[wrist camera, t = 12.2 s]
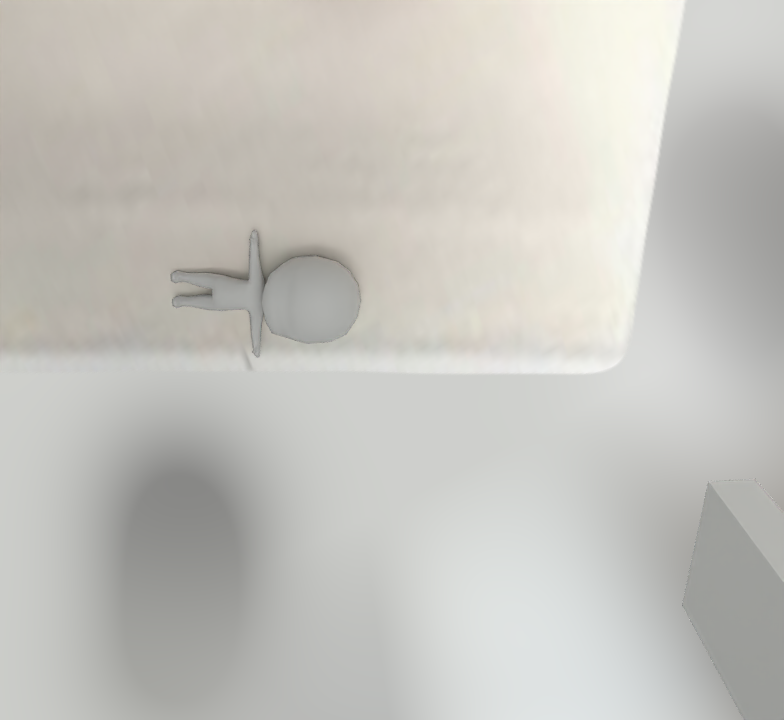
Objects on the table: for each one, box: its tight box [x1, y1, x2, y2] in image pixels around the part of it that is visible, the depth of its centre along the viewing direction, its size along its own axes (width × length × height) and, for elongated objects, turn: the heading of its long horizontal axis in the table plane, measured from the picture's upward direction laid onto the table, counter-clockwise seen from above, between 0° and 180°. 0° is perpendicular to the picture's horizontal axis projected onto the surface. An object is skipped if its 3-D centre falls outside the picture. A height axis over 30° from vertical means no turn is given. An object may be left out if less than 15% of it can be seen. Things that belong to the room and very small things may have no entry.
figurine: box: [171, 230, 361, 358], centre depth 41 cm, size 8×5×12 cm
